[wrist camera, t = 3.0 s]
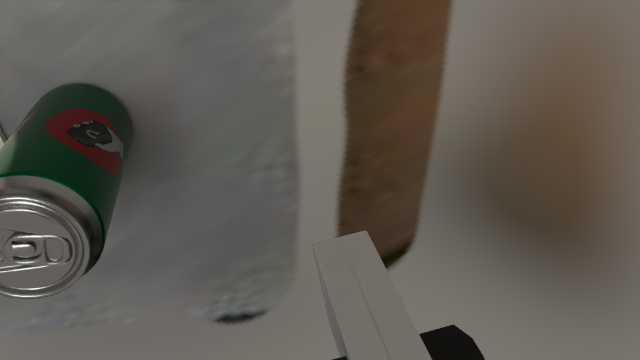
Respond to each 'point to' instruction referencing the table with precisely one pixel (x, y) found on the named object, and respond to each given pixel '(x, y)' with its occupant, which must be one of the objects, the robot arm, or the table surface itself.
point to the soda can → (59, 189)
